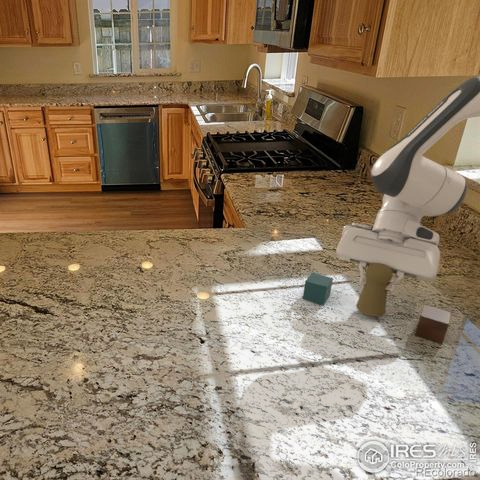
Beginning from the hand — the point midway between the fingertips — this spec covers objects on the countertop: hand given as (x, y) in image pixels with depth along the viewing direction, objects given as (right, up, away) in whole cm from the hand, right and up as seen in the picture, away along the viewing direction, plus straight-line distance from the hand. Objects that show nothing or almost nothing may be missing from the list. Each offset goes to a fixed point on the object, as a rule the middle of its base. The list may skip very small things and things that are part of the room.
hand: (375, 287), depth 93 cm
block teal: (-9, -4, +10) cm, 14 cm away
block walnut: (+10, -9, -3) cm, 14 cm away
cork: (0, -5, +3) cm, 6 cm away
